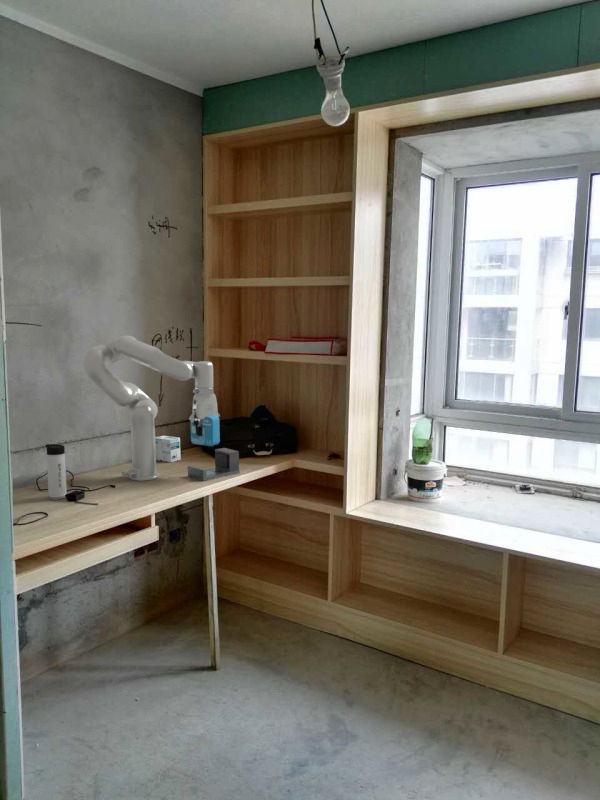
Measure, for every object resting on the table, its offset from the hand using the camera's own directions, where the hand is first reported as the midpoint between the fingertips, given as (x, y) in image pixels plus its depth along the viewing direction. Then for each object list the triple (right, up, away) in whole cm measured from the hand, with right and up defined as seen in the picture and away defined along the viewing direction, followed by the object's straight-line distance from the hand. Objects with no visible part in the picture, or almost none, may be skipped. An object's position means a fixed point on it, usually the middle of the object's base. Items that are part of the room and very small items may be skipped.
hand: (205, 434), depth 263 cm
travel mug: (-50, -22, -30) cm, 62 cm away
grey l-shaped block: (+3, -17, +5) cm, 18 cm away
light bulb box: (-22, -14, +33) cm, 42 cm away
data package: (0, -4, +1) cm, 4 cm away
